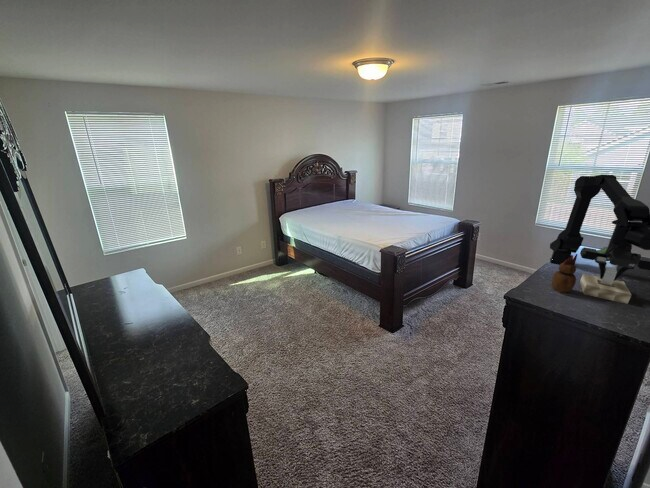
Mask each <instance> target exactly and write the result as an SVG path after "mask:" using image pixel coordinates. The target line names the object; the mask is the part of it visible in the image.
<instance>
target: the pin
mask: <svg viewBox="0 0 650 488" xmlns="http://www.w3.org/2000/svg"><path fill="white" fill-rule="evenodd" d="M616 274H617V267H613V266H612V267H611V266H607V265H606V266H605V270H604V275H603V278H602V279H600V281H599V284H601V285H605V286H610V287H611V286H612V284H613V281H614V279H615V276H616Z"/></svg>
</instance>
